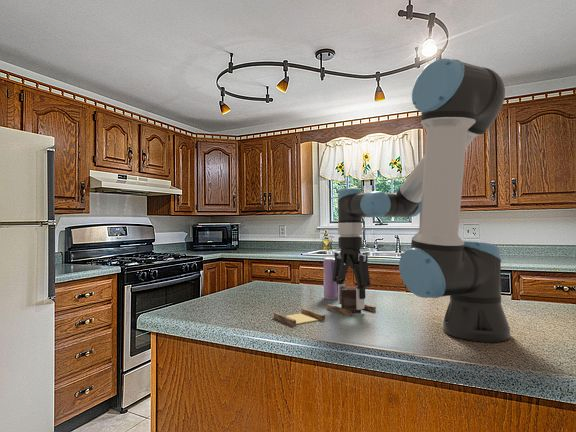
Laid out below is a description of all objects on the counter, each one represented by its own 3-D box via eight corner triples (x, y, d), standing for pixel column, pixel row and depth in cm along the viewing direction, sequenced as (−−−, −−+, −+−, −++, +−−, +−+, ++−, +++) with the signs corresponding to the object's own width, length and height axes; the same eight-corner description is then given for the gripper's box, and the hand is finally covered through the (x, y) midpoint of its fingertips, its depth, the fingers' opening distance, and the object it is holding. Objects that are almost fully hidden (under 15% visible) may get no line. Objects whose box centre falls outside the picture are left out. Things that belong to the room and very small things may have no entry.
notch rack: (375, 311, 117) (375, 306, 117) (293, 326, 101) (292, 320, 101) (352, 305, 126) (352, 300, 126) (273, 317, 110) (273, 312, 110)
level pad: (318, 320, 107) (318, 319, 107) (296, 324, 103) (296, 323, 103) (301, 314, 114) (301, 313, 114) (280, 317, 110) (280, 316, 110)
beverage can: (340, 299, 136) (340, 258, 136) (324, 299, 136) (324, 259, 136) (338, 296, 142) (338, 257, 142) (323, 296, 142) (322, 257, 142)
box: (359, 308, 122) (359, 286, 122) (361, 313, 116) (361, 289, 116) (341, 308, 122) (340, 286, 122) (341, 312, 116) (341, 289, 116)
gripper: (382, 236, 112) (383, 311, 112) (338, 235, 130) (339, 299, 130) (363, 237, 108) (364, 314, 108) (321, 235, 126) (322, 301, 126)
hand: (350, 306), depth 119 cm, fingers open, 8 cm apart
